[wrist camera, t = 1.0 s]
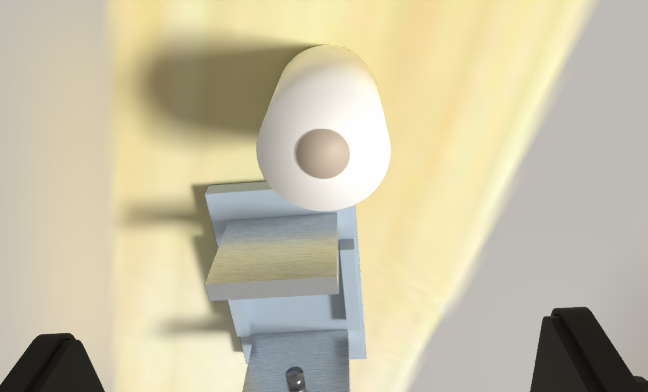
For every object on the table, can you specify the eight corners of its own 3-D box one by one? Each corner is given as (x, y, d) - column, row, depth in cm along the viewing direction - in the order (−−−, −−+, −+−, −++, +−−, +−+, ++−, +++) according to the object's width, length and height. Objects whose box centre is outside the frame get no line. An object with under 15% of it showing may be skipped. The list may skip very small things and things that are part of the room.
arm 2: (252, 324, 30) (236, 398, 26) (347, 319, 30) (349, 394, 25) (256, 344, 31) (242, 420, 26) (349, 340, 31) (351, 416, 26)
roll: (270, 49, 23) (245, 95, 17) (375, 40, 23) (388, 83, 17) (284, 146, 26) (267, 216, 19) (379, 138, 25) (392, 208, 19)
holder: (209, 185, 27) (199, 203, 25) (353, 175, 26) (354, 192, 24) (248, 352, 33) (243, 376, 31) (365, 346, 32) (367, 370, 31)
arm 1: (228, 219, 27) (204, 284, 22) (337, 212, 26) (336, 276, 21) (234, 246, 28) (213, 313, 23) (339, 239, 27) (340, 307, 22)
